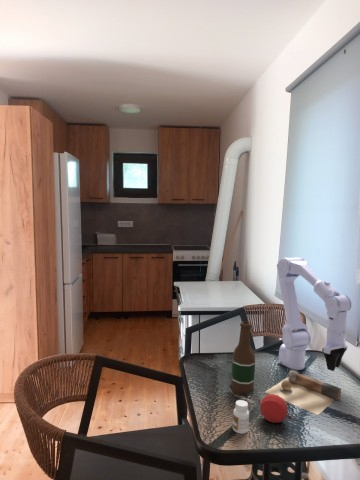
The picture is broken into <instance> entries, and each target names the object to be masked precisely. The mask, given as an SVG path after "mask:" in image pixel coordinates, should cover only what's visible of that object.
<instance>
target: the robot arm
mask: <svg viewBox="0 0 360 480" xmlns="http://www.w3.org/2000/svg"><path fill="white" fill-rule="evenodd" d="M276 268H277V275H278V281H279V282H278V283H279V286H280V293H281V298H282V302H283V307H284V314H285V318H286V324H285V325H284V326H283V327H282V329H281V330H282V335H281V336H282V338H281V339H282V344H281V345H280V347H279V351H278V362H277V363H278V364H279V365H283V366H285V367H287V368H289V369H290V370H295V371H299V370H303V369H305V365H306V364H305V361H306V351H307V350H306V349H308V346H309V345H310V344H311V341H312V336H311V333H310V332H309V330H308V326H307V325H306V324H305V323H303V322H302V318H301V314H300V308H299V303H298V298H297V293H296V288H295V281H296V280H297V278H299V277H300V276H301V277H302V278H303V279H304V280H305V281H306V282H308V283H309V284H310V285H311V286H312V287H313V292H314V293H315V294H316V295H317V296H318V297H319V299H321V300H322V301H323V302H324V307H325V309H326V315H327V328H326V339H325V342H324V343H325V344H324V346H323V348H322V350H321V352H322V353H323V356H324V358H325V363H326V368H327V370H329V371H332V372H334V371H335V369H336V368H339V367H340V365H341V362H342V360H343V356H344V354H345V353H346V351H347V350H348V347H349V345H348V344H346V341H347V338H346V328H347V317H348V316H347V315H348V312H350V310H351V308H352V300H351V299H350V297H349V296H348V295H347V294H345V293H344V294H342V293H341V292H339V291H338V290H336V288H335V287H334V286H332V285H331V282H330V281H328V280H325V279H323V280H321V279H320V278H319V276H318V275H317V274H316V273H315V272H314V270H312V269H311V268H310V266H309V262H308V261H306V260H305V258H303V257H301V256H299V257H282V258H280V259H279V260H278V262H277V263H276Z"/></svg>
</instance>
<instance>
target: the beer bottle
mask: <svg viewBox="0 0 360 480" xmlns="http://www.w3.org/2000/svg"><path fill="white" fill-rule="evenodd" d="M239 326H240V331H239V332H240V333H239V340H238V344H237V346H236V347H235V348H234V350H233V353H232V362H231V364H232V365H231V379H230V381H231V382H230V384H231V393H232V394H233V395H236V396H238V397H249V396H250V395H248V394H246V393H250V392H252V391H254V389H255V388H254V386H255V371H256V370H255V368H256V355H255V353H254V350H253V348H252V345H251V328H252V325H251V322H249V321H241V322H240V324H239Z"/></svg>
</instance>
